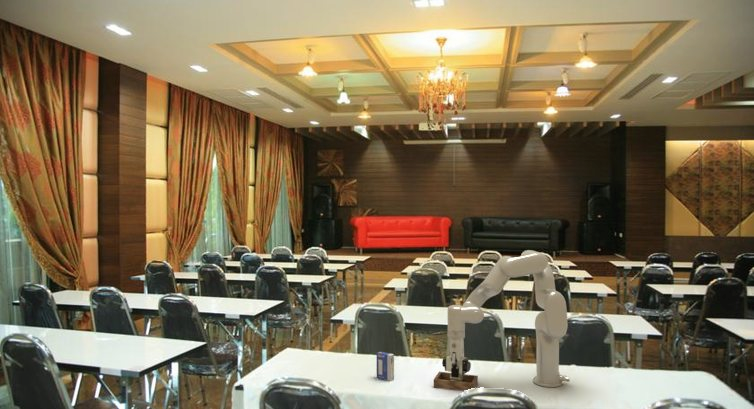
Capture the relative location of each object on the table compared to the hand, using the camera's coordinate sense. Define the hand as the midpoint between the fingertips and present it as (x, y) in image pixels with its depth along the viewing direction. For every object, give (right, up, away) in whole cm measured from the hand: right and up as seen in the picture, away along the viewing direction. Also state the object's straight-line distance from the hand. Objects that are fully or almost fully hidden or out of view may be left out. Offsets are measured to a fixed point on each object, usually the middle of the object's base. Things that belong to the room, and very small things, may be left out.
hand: (456, 374), depth 234 cm
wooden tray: (0, -5, 0) cm, 5 cm away
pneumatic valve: (0, -3, 0) cm, 3 cm away
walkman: (-31, -5, +8) cm, 33 cm away
